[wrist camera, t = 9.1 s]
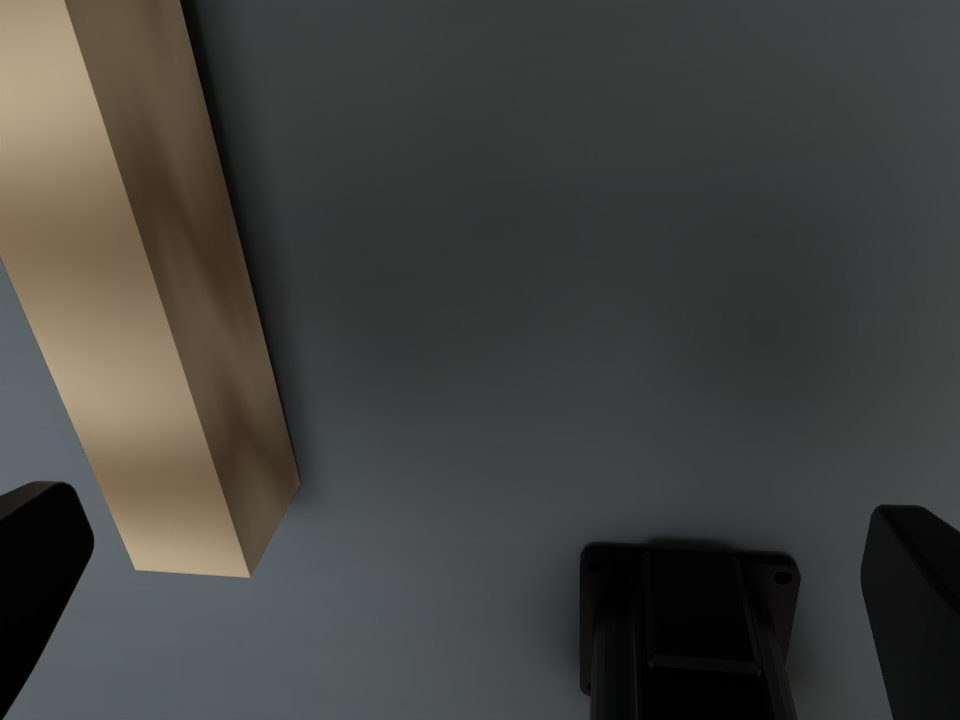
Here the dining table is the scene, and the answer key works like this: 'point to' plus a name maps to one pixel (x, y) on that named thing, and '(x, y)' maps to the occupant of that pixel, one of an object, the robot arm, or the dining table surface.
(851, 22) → the dining table surface
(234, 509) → the rail
